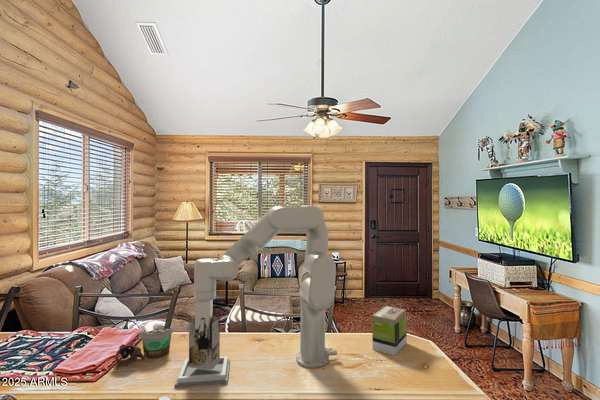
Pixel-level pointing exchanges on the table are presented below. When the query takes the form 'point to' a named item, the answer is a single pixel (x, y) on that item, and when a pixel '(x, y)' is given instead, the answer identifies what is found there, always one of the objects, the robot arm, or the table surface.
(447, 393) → the table surface
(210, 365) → the coffee box
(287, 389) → the table surface
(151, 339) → the food container
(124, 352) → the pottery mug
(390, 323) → the tea box
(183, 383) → the board
